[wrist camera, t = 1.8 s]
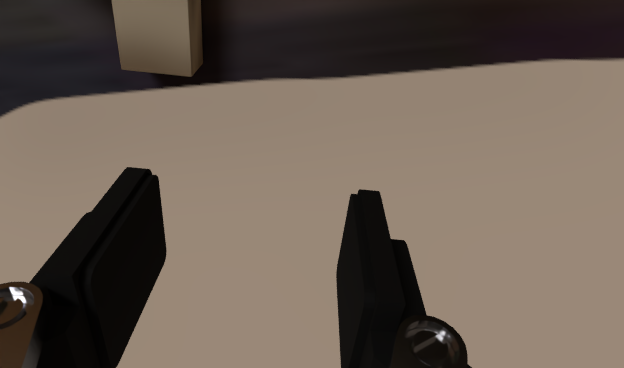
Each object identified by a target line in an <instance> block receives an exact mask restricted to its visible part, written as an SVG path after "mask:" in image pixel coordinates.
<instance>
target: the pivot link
mask: <svg viewBox="0 0 624 368" xmlns="http://www.w3.org/2000/svg"><path fill="white" fill-rule="evenodd" d="M112 7H113V14H114V21H115V28H116V35H117V42H118V49H119V56H120V63H121V69H122V70H132V71H141V72H150V73H160V74H169V75H179V76H188V77H192V76H193V74H194V73H195V72H196V71H197V70H198V69H199V67H200V66H201V65H202V64H203V50H202V22H201V0H112Z"/></svg>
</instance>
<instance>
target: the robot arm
mask: <svg viewBox="0 0 624 368" xmlns="http://www.w3.org/2000/svg"><path fill="white" fill-rule="evenodd" d="M165 259H166V242H165V234H164V224H163V215H162V206H161V197H160V188H159V180H158V176H156V175H152V172H151V171H150V170H149V169H142V168H132V167H127V168H126V169H125V170H124V171H123V172H122V174H121V175H120V176H119V177H118V179H117V180H116V181H115V182H114V184H113V185H112V186H111V188H110V189H109V190H108V191H107V193H106V194H105V195H104V196H103V198H102V199H101V200H100V201H99V203H98V204H97V205H96V206H95V208H94V209H93V210H92V211H91V212H89V213H86V214H85V215H84V216H83V217H82V218H81V219H80V221H79V222H78V223H77V224H76V226H75V227H74V228H73V229H72V231H71V232H70V233H69V234H68V236H67V237H66V238H65V239H64V240H63V242H62V243H61V244H60V245H59V247H58V248H57V249H56V250H55V252H54V253H53V254H52V255H51V257H50V258H49V259H48V260H47V261H46V263H45V264H44V265H43V266H42V268H41V269H40V270H39V271H38V273H37V274H36V275H35V276H34V277H33V279H32V280H31V281H30V282H29V283H26V282H9V283H4V284H0V368H116V367H117V365H118V363H119V361H120V359H121V357H122V355H123V353H124V350H125V348H126V346H127V344H128V342H129V339H130V337H131V335H132V333H133V331H134V328H135V326H136V324H137V322H138V320H139V317H140V315H141V313H142V311H143V309H144V307H145V304H146V302H147V300H148V297H149V295H150V293H151V291H152V289H153V287H154V285H155V282H156V280H157V278H158V276H159V274H160V271H161V269H162V267H163V265H164V262H165ZM336 278H337V298H338V316H339V336H340V356H341V368H472V367H470V366H469V365H468V364H467V350H466V345H465V343H464V341H463V340H462V338H461V336H460V335H459V334H458V333H457V332H456V330H454V328H453V327H451V326H450V325H448V324H447V323H446V322H444V321H442V320H440V319H437V318H435V317H432V316H427V315H426V311H425V308H424V304H423V301H422V297H421V293H420V290H419V286H418V283H417V279H416V276H415V272H414V268H413V265H412V261H411V257H410V254H409V250H408V247H407V244H406V242H405V241H404V240H394V239H391V238H390V234H389V230H388V225H387V221H386V217H385V212H384V208H383V204H382V199H381V195H380V192H379V191H370V190H359V191H358V194H351V196H350V200H349V206H348V211H347V217H346V222H345V227H344V232H343V238H342V243H341V248H340V254H339V259H338V264H337V277H336Z"/></svg>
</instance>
